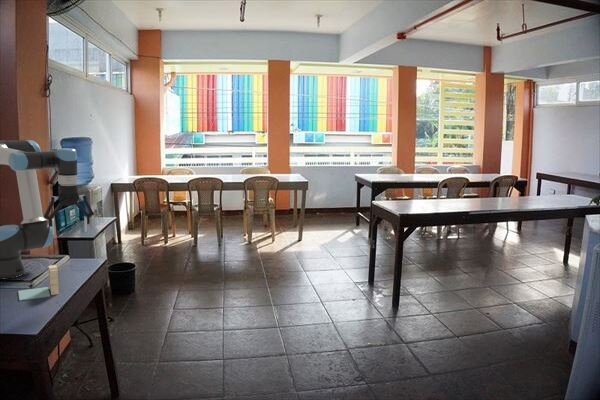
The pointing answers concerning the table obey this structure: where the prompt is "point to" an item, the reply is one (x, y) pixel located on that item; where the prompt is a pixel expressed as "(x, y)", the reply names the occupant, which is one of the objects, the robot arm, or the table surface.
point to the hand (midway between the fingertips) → (69, 232)
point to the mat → (33, 293)
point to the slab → (53, 279)
